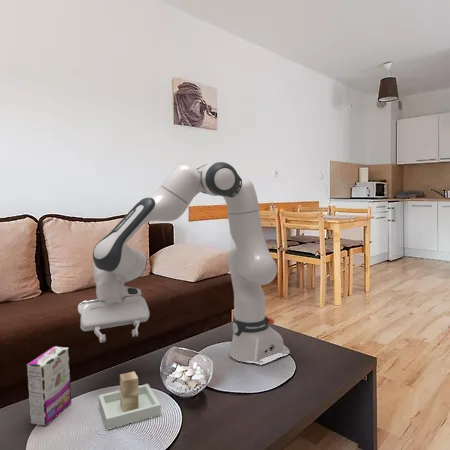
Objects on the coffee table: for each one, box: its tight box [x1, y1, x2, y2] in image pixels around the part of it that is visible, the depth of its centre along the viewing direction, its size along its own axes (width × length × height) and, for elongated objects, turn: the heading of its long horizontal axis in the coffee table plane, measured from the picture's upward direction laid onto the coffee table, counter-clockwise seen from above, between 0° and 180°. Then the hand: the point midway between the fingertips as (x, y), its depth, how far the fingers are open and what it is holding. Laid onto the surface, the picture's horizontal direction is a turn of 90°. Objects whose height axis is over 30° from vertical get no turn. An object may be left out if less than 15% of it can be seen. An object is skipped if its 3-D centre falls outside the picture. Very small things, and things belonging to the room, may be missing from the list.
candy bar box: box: [26, 345, 72, 426], centre depth 102 cm, size 11×5×16 cm, turn 168°
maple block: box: [119, 371, 139, 412], centre depth 104 cm, size 4×4×9 cm
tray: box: [98, 383, 162, 430], centre depth 104 cm, size 14×12×3 cm
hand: (119, 338), depth 113 cm, fingers open, 8 cm apart
